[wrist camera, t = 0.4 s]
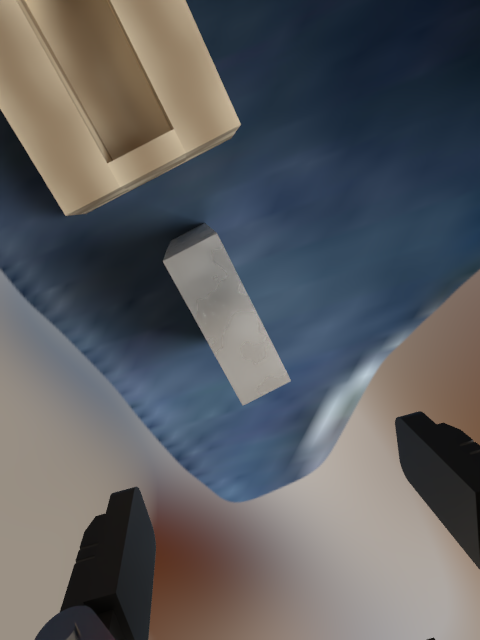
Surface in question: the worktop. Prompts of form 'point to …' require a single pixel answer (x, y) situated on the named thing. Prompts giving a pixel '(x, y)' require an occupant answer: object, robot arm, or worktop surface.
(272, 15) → the worktop surface
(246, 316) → the grey stone slab
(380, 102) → the worktop surface
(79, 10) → the wooden l-shaped stand
